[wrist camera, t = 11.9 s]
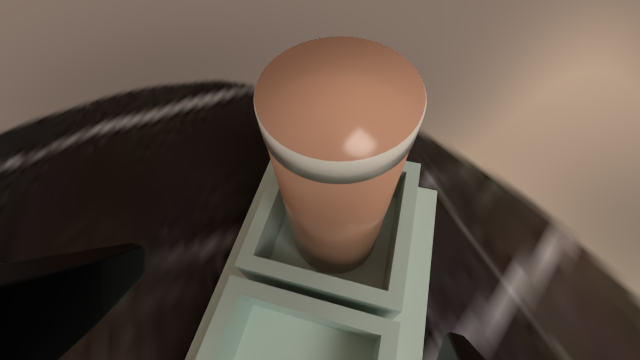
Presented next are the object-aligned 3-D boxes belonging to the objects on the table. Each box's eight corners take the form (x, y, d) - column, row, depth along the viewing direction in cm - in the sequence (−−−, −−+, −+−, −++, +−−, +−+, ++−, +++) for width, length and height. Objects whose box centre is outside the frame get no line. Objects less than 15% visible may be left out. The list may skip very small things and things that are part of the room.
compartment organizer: (396, 584, 14) (420, 671, 10) (143, 475, 16) (81, 511, 12) (433, 197, 23) (452, 164, 20) (273, 164, 26) (262, 128, 22)
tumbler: (309, 287, 19) (280, 186, 8) (284, 211, 22) (236, 58, 11) (390, 256, 20) (463, 127, 9) (356, 187, 23) (380, 21, 12)
